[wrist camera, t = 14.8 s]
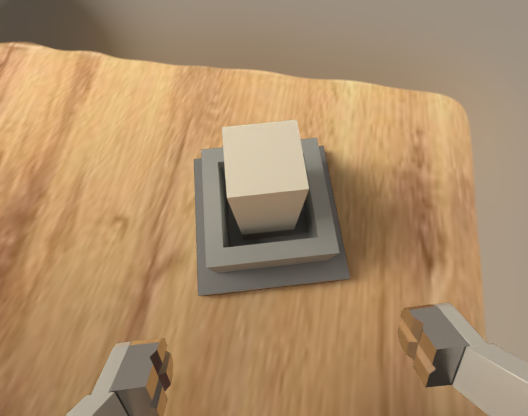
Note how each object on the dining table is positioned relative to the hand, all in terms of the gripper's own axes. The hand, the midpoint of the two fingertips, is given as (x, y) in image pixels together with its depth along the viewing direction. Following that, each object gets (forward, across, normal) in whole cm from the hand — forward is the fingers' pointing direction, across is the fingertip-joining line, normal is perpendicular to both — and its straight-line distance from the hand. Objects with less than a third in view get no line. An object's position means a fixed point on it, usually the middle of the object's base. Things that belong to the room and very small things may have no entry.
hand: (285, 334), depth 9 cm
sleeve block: (+14, 0, +3) cm, 14 cm away
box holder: (+15, 0, +4) cm, 15 cm away
